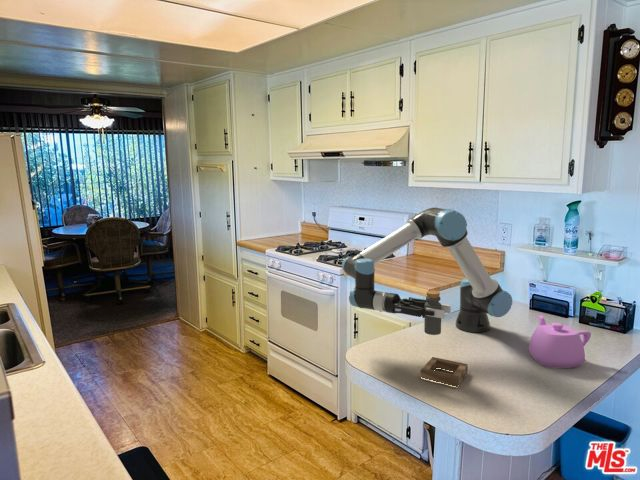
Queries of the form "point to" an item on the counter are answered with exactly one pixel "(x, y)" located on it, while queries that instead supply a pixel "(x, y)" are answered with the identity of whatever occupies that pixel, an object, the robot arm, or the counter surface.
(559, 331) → the teapot
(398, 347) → the counter surface
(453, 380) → the block
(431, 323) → the bottle
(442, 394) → the counter surface
